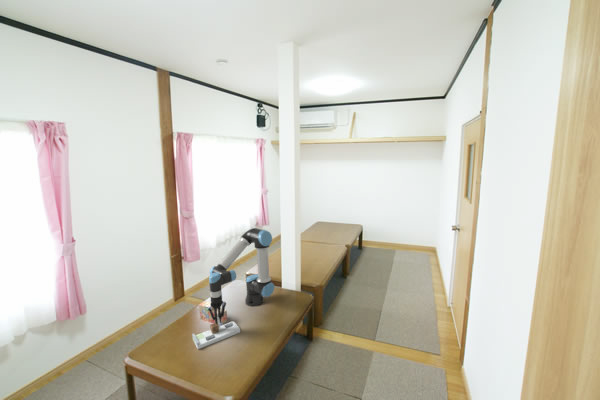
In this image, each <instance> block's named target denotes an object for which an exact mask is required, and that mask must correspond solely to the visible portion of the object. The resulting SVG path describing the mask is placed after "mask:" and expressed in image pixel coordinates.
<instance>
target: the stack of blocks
mask: <svg viewBox="0 0 600 400" xmlns="http://www.w3.org/2000/svg"><path fill="white" fill-rule="evenodd" d="M210 304H211V301H206V300H205V301H202V302H201V303H199V304H198V307H199V310H198V311H199V317H200V319H199V320H201V321H204V322H208V323H211V324H214V323H215V320H213V319H212V317H211V314H210V311H209V310H208V309H207V307H209V306H210ZM211 308H212V307H211ZM211 310H212V312H213V315H214V308H212V309H211ZM220 310H222V308H221V309H220ZM227 312H228V311H227V309H225V310H224V316H223V317H221V322H220V326H222V325H224V324H227V323H228V315H227V314H228V313H227ZM214 317H215V316H214ZM217 318H219V317H218V308H217Z"/></svg>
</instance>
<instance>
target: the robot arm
mask: <svg viewBox="0 0 600 400" xmlns="http://www.w3.org/2000/svg"><path fill="white" fill-rule="evenodd" d="M272 242H273V235H272V233H271V232H270V231H268V230H265V229H260V228H257V227H254V228H253V227H252V228H250V229H248V230H246V231H245V232H244V233H243V234H242V235H241V236H240V238H239V240H238V241H237V242H236V244H234V246H233V247H232V248H231V250H229V252H228V253H227V254H226V255H225V256H224V258H223V259H222V260H221V261H220V262H219V263H218V264H217V266H215V265H214V266H212V267H211V268H210V270H209V275H208V284H209V293H210V302H211V304H210V306H209V307H207V309H208V310H209V311H210V314H211V317H212V319H213V320H215V323H216V324H218V325H219V328H220V326H221V325H220V322H221V317H223V316H224V310H226V305H227V302H226V301H223V292H222V286H223V285H226V284H229V283H231V282H234V281H236V280H237V273H236V271H235V270H233V269H231V270H228V269H229V268H230V267H231V265H232V264H233V263H234V262H235V261H236V260H237V258H239V256H240V255H241V254H242V253H243V252H244V251H245V250H246V248H247V247H249V246H250V245H251V244H254V248H255V249H256V256H257V257H256V260H257V274H255V273H254V274H250V275H248V276H246V280H245V283H246V296H245V303H244V304H245V305H246V306H249V307H257V306H260V305H262V304H263V302H264V297H265V298H269V297H270V296H271V295H273V293H274V291H275V284H274V283H273V282H272V277H271V276H270V271H269V269H270V268H269V266H270V265H269V248H270V245H271V244H272ZM211 307H212V308H214V315H213V312H212V310H211V309H212V308H211ZM217 308H218V317H219V318H217ZM220 309H222V310H220ZM214 316H215V317H214Z"/></svg>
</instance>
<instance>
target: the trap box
mask: <svg viewBox="0 0 600 400" xmlns="http://www.w3.org/2000/svg"><path fill="white" fill-rule="evenodd" d="M240 333H241V328H240V327H239V326H238V324H237V323H236V322H235V321H234V320H233V321H230V322H226V323H225V324H223V325H222V326H221V325H220V328H219V332H217V333H214V334H212V332H211V330H210V329H209V330H206V331H203V332H200V333H198V334H195V333H194V332H193V333H192V341H193V342H194V343H193V344H194V345H195V346H196V349H197V350H200V349H203V348H205V347H208V346H210V345H212V344H215V343H217V342H220V341H222V340H225V339H227V338H230V337H232V336H234V335H237V334H240Z"/></svg>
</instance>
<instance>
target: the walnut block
mask: <svg viewBox="0 0 600 400" xmlns="http://www.w3.org/2000/svg"><path fill="white" fill-rule="evenodd" d="M209 327H210V329H209V330H211V332H212V334H214V333H217V332H219V325H218V324H216V323H211V324H210V325H209Z"/></svg>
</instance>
